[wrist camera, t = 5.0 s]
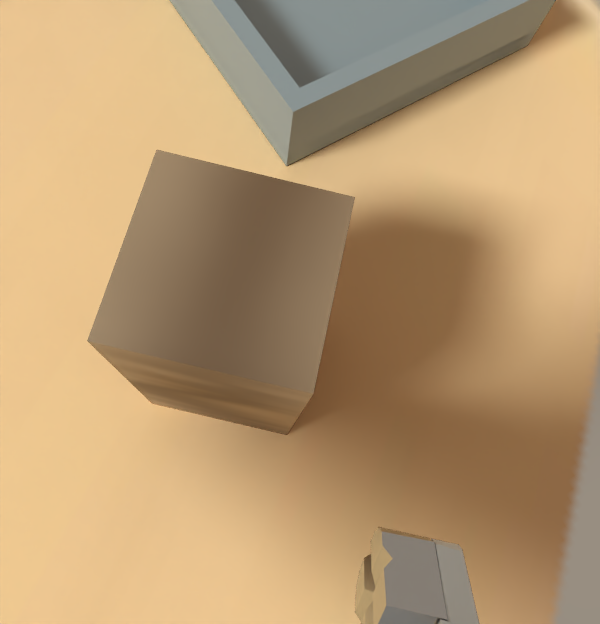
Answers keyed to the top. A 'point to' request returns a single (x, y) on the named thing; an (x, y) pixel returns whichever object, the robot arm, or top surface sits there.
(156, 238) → the walnut block
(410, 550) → the robot arm
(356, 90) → the tray
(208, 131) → the top surface
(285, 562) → the top surface
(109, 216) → the top surface
